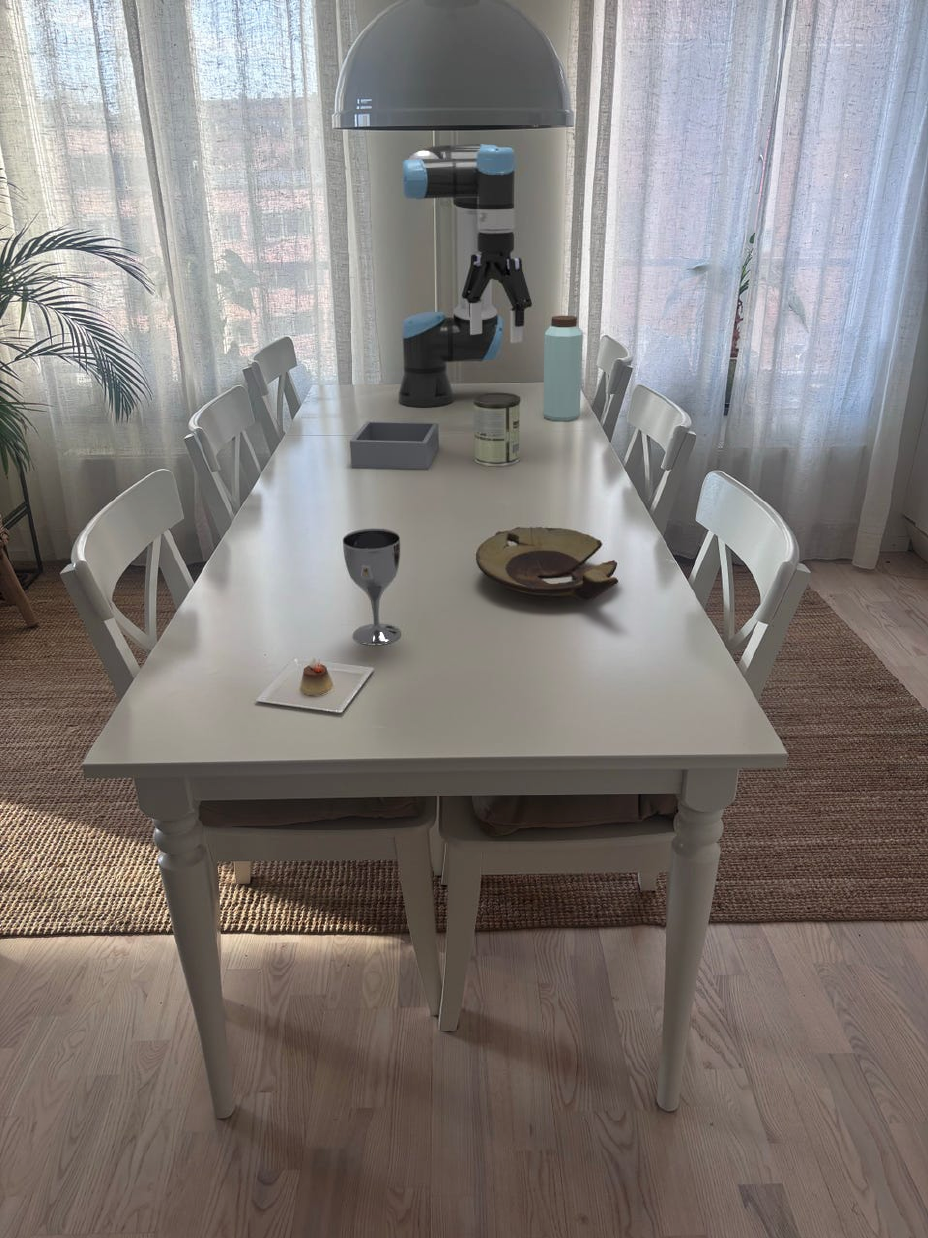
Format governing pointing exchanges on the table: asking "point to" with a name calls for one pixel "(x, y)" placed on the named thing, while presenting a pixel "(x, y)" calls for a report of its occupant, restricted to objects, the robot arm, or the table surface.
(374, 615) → the wine glass
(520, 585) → the brown shallow dish
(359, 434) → the bin
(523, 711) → the table surface
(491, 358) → the robot arm
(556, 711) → the table surface
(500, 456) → the coffee can
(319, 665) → the dessert
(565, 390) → the water bottle
